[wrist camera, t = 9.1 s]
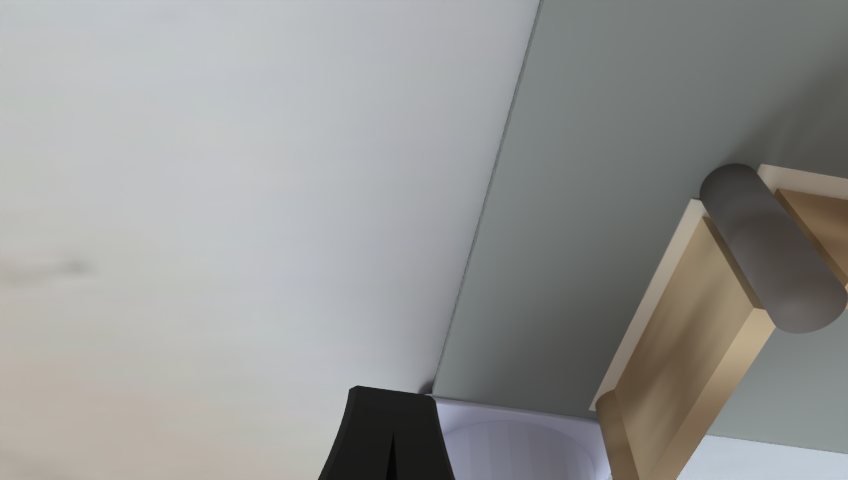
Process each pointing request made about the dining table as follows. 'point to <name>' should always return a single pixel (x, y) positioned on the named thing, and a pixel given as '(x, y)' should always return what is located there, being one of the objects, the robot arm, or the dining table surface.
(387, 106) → the dining table surface
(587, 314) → the board
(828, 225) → the fence gate
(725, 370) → the fence base
